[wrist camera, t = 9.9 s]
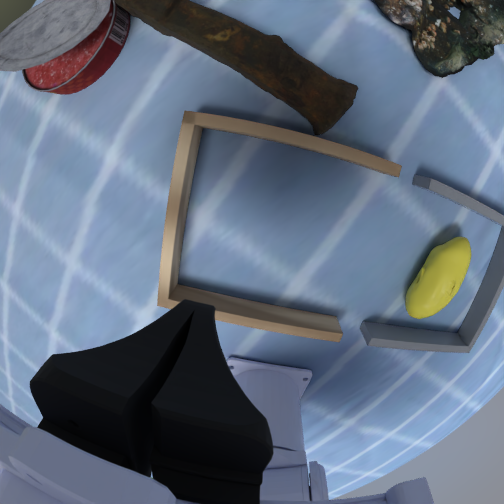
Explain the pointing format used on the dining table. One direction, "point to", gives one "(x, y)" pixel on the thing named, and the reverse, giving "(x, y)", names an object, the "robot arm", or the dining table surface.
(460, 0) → the decorative rock
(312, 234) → the dining table surface
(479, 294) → the grey frame
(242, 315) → the oak frame
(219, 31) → the hand tool
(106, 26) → the canned food
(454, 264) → the lemon
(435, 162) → the dining table surface
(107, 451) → the robot arm
